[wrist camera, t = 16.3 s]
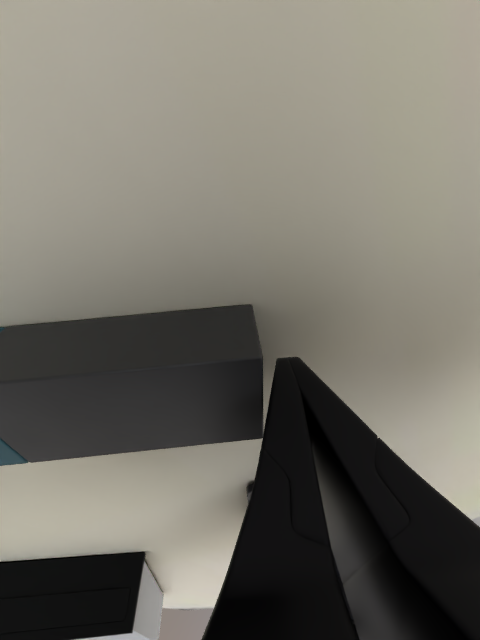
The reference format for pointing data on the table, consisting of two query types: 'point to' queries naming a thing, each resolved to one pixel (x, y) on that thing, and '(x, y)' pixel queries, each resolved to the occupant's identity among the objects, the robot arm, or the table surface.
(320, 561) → the robot arm
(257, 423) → the slat
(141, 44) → the table surface
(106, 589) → the disc drive
